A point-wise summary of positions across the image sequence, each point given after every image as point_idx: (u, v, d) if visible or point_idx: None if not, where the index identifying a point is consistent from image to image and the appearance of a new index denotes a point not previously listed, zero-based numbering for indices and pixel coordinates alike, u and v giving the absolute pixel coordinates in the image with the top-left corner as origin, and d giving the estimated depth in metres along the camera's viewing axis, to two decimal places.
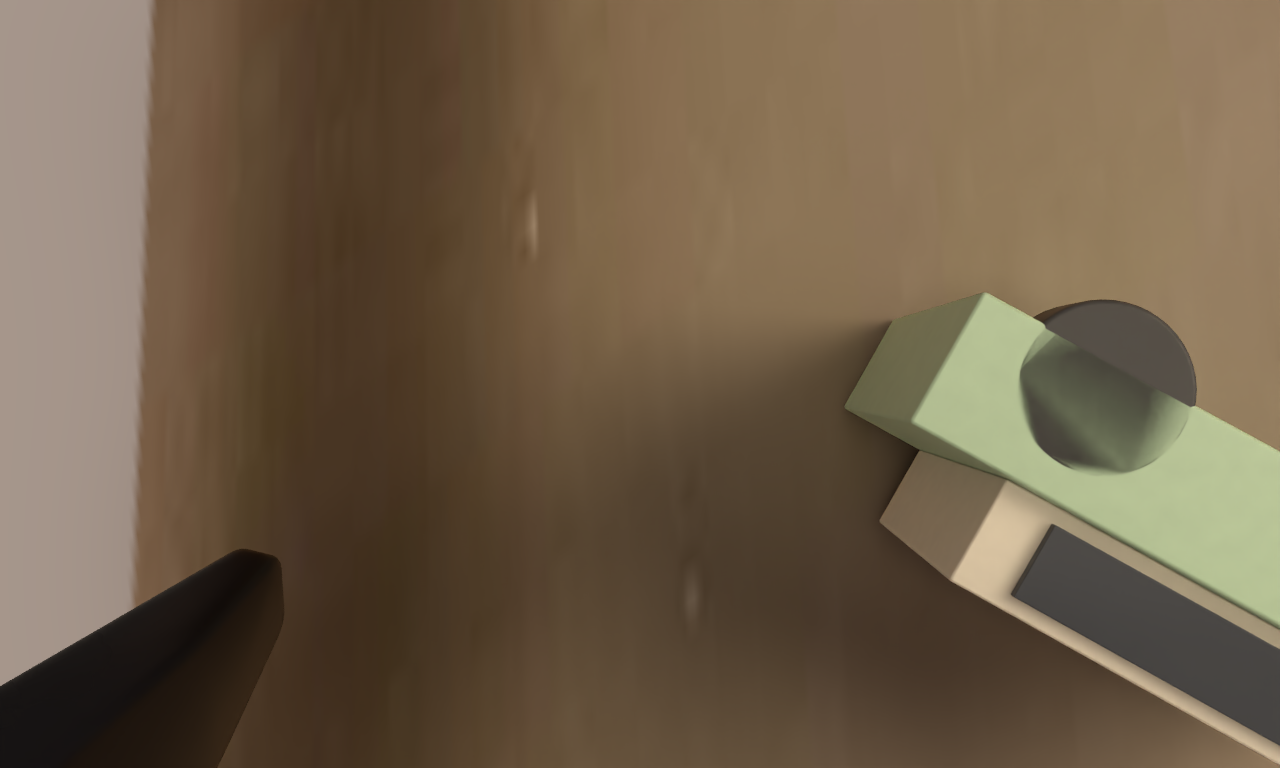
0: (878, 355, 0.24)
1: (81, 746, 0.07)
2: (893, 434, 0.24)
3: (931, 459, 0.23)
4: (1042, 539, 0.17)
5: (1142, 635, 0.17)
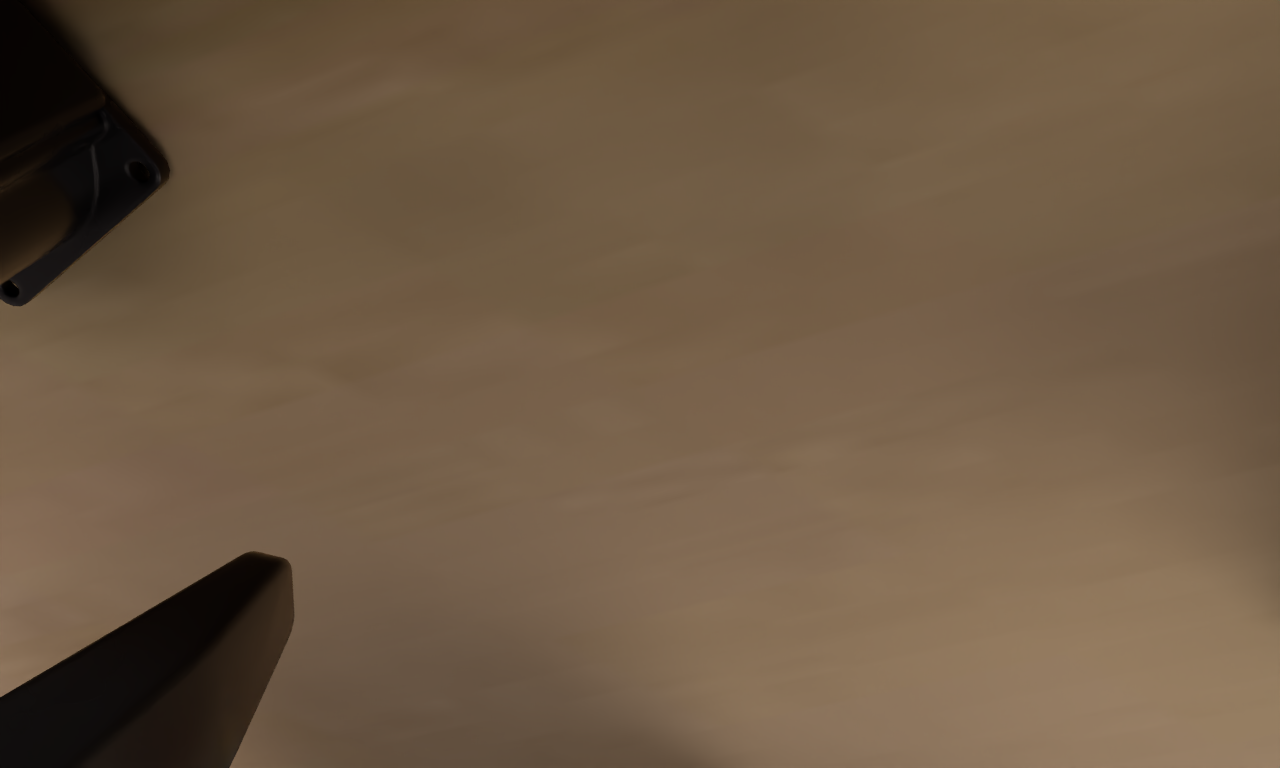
0: None
1: (95, 749, 0.07)
2: None
3: None
4: None
5: None
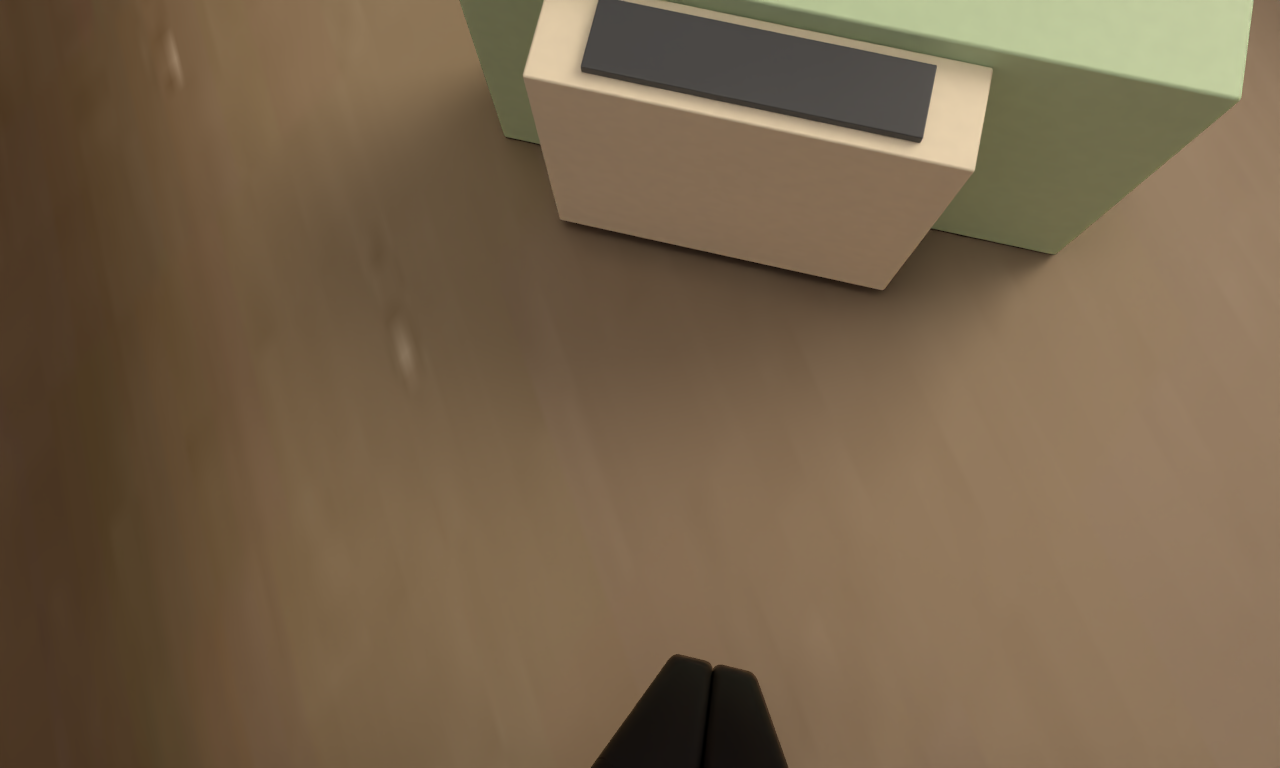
0: None
1: None
2: None
3: None
4: (596, 17, 0.18)
5: (712, 73, 0.18)
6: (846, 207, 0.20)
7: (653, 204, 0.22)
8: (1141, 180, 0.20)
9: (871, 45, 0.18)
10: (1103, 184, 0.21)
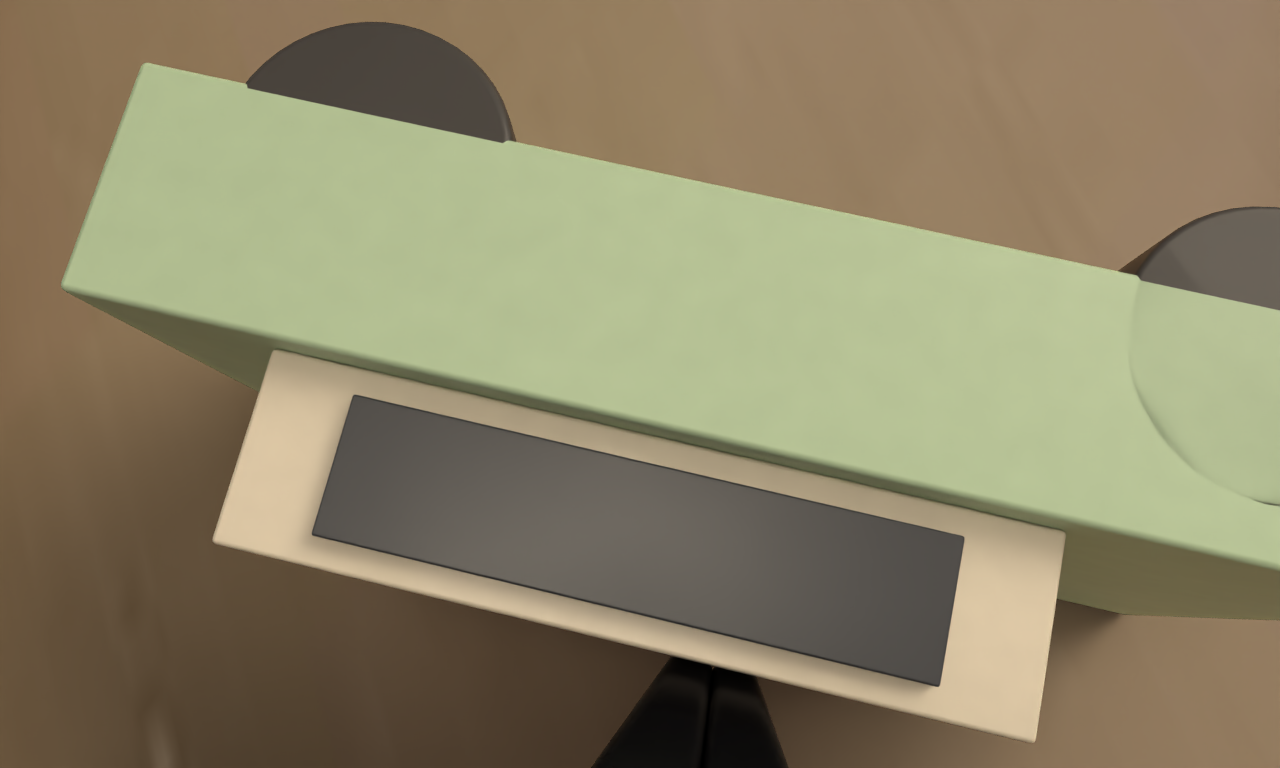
0: None
1: None
2: None
3: None
4: (350, 427, 0.10)
5: (554, 541, 0.10)
6: None
7: None
8: None
9: (844, 481, 0.10)
10: (1227, 609, 0.13)
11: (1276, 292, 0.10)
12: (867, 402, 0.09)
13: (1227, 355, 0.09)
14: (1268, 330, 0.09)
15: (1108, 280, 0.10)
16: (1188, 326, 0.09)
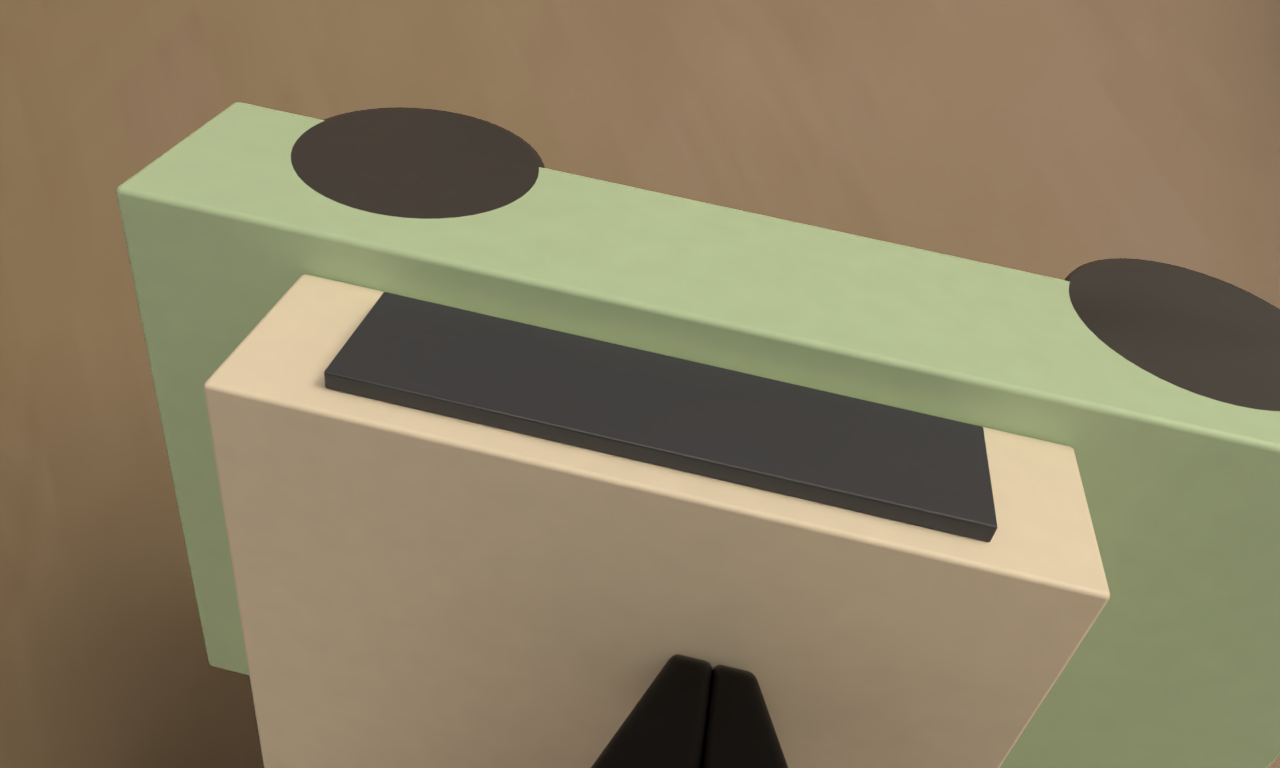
0: None
1: None
2: None
3: None
4: (372, 323, 0.10)
5: (580, 412, 0.09)
6: (826, 728, 0.10)
7: (446, 749, 0.12)
8: None
9: None
10: (1246, 725, 0.12)
11: (1177, 298, 0.12)
12: (870, 318, 0.10)
13: (1158, 323, 0.11)
14: (1182, 315, 0.11)
15: (1044, 280, 0.12)
16: (1119, 307, 0.11)
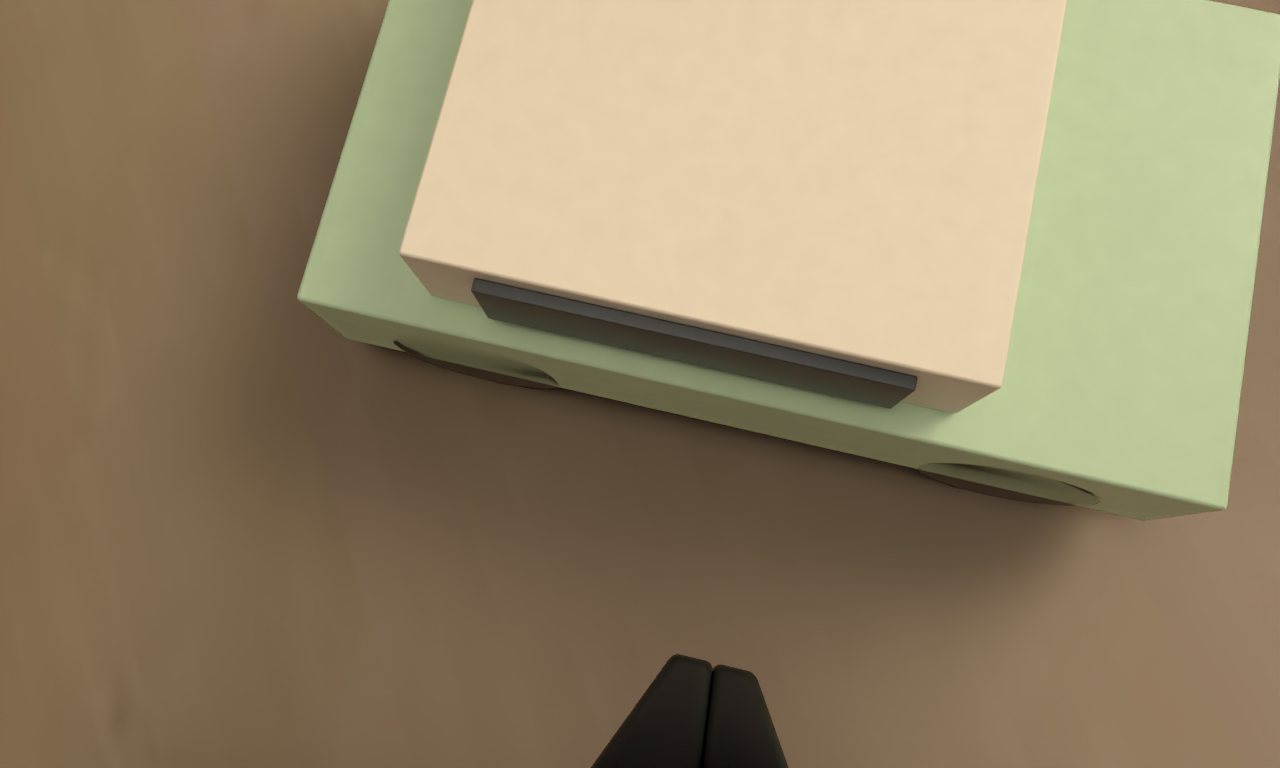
0: None
1: None
2: (386, 280, 0.15)
3: None
4: None
5: None
6: (927, 53, 0.14)
7: (612, 131, 0.13)
8: (1259, 212, 0.15)
9: None
10: (1219, 234, 0.15)
11: None
12: None
13: None
14: None
15: None
16: None
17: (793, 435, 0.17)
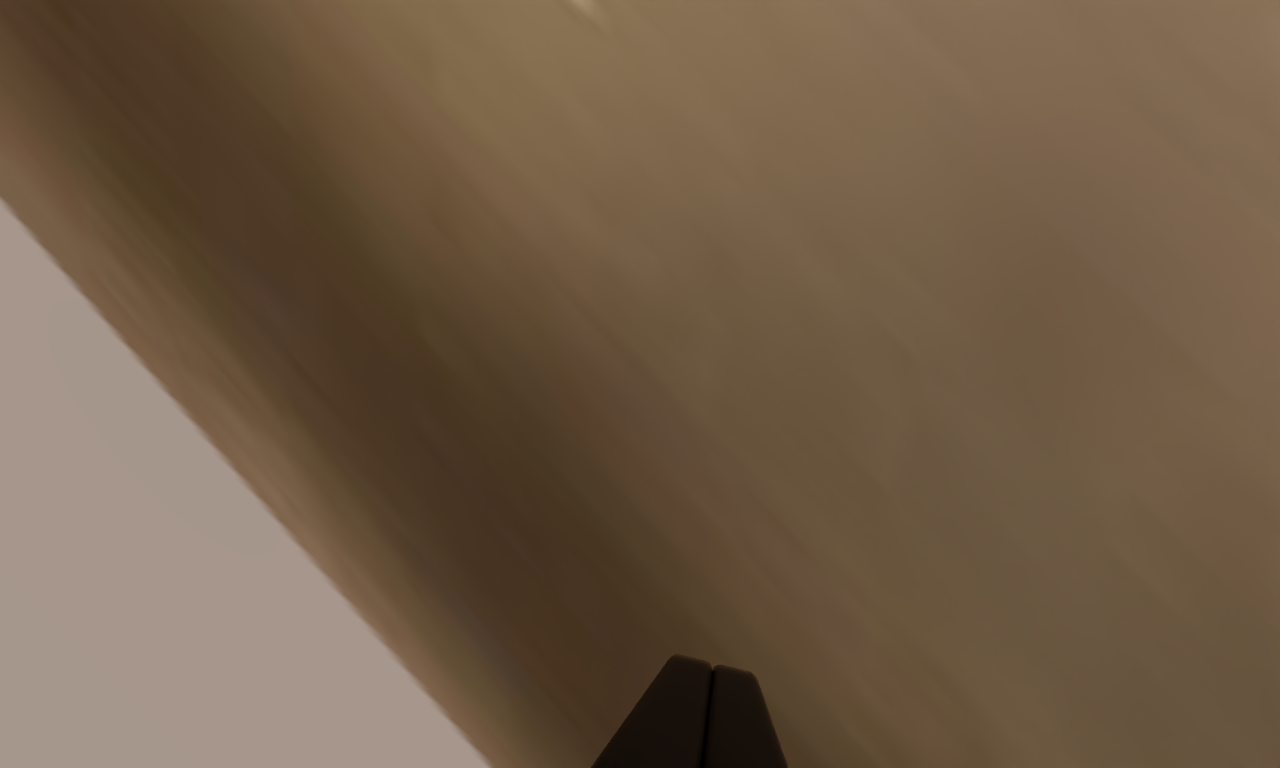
0: None
1: None
2: None
3: None
4: None
5: None
6: None
7: None
8: None
9: None
10: None
11: None
12: None
13: None
14: None
15: None
16: None
17: None
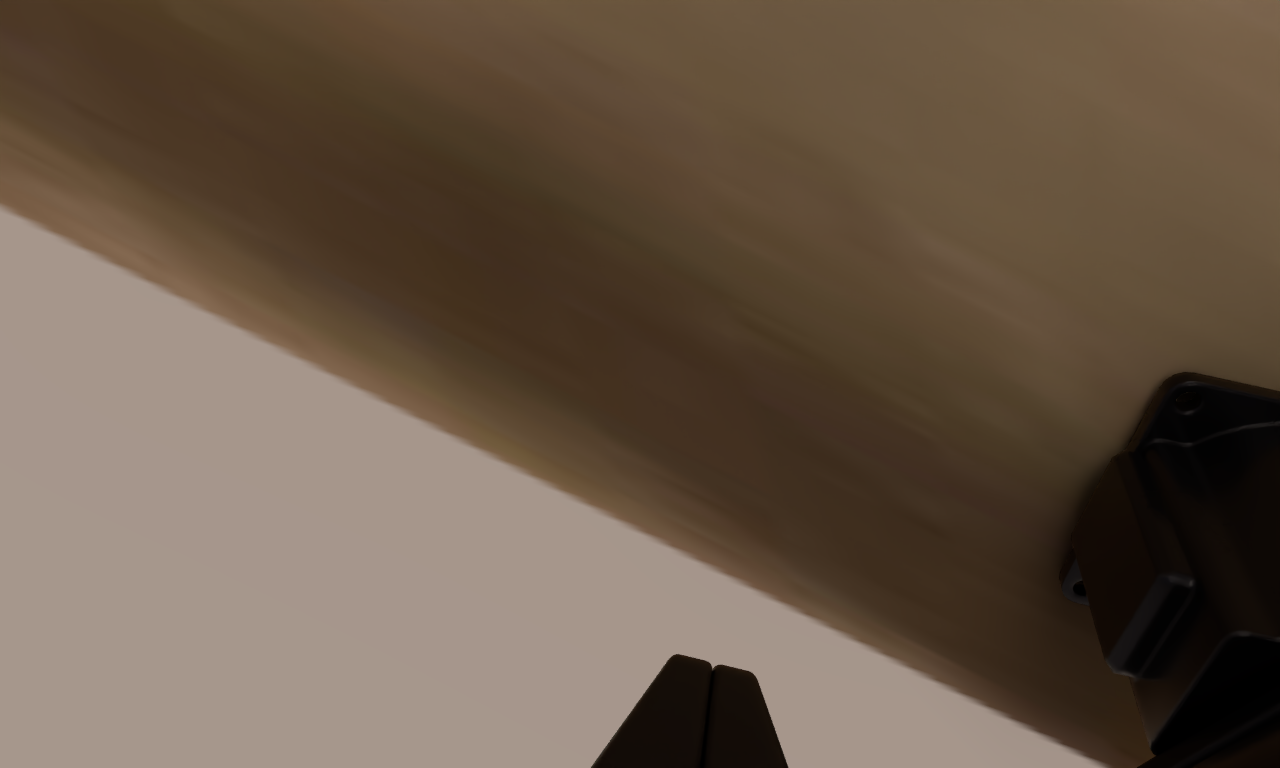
0: None
1: None
2: None
3: None
4: None
5: None
6: None
7: None
8: None
9: None
10: None
11: None
12: None
13: None
14: None
15: None
16: None
17: None
